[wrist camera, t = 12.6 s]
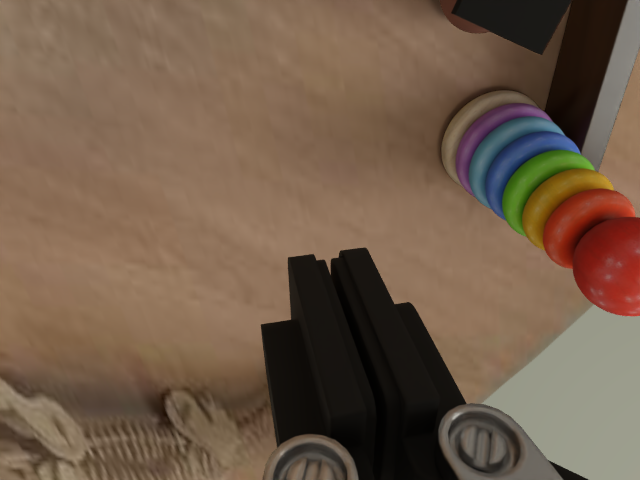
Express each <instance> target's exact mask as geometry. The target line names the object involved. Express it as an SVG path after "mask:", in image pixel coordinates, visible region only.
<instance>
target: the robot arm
mask: <svg viewBox="0 0 640 480" xmlns="http://www.w3.org/2000/svg"><path fill="white" fill-rule="evenodd" d="M288 274H289V290H290V307H291V320H287V321H281V322H274V323H267V324H261V331H262V341H263V350H264V358H265V366H266V374H267V381H268V388H269V395H270V402H271V409H272V415H273V422H274V429H275V436H276V442H277V449H276V450H274V451H273V452H272V454H271V456H270V458H269V459H268V461H267V463H266V465H265V470H264V475H263V480H588V479H586V478H584V477H582V476H580V475H578V474H576V473H573V472H571V471H569V470H567V469H565V468H563V467H561V466H559V465H557V464H555V463H553V462H551V461H549V460H547V459H546V457H545V456H544V455H543V454H542V452H541V451H540V450H539V449H538V448H537V446H536V445H535V444H534V442H533V441H532V440H531V439H530V438H529V436H528V435H527V434H526V432H525V431H524V430H523V429H522V428H521V426H520V425H518V423H516V422H515V421H514V420H513V419H512V418H511V417H510V416H509V415H507V414H505V413H504V412H502V411H500V410H499V409H496V408H493V407H490V406H487V405H484V404H473V403H470V404H466V402H465V400H464V398H463V396H462V394H461V392H460V391H459V389H458V387H457V385H456V383H455V381H454V379H453V378H452V376H451V374H450V372H449V370H448V368H447V366H446V365H445V363H444V361H443V359H442V357H441V355H440V353H439V352H438V350H437V348H436V346H435V344H434V342H433V340H432V339H431V337H430V335H429V333H428V331H427V329H426V327H425V326H424V324H423V322H422V320H421V318H420V316H419V314H418V313H417V311H416V309H415V308H414V306H413V305H412V304H411V303H410V302H407V303H400V304H394V302H393V300H392V298H391V296H390V294H389V292H388V290H387V288H386V286H385V284H384V282H383V280H382V278H381V276H380V274H379V272H378V270H377V268H376V266H375V264H374V262H373V260H372V258H371V256H370V254H369V252H368V250H367V248H357V249H350V250H342V251H340V253H339V258H333V259H331V275H330V273H329V270H328V267H327V264H326V262H325V260H318V261H316V258H315V256H314V254H311V255H304V256H296V257H288Z"/></svg>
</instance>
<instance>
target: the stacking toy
mask: <svg viewBox="0 0 640 480" xmlns="http://www.w3.org/2000/svg"><path fill="white" fill-rule="evenodd" d="M441 154H442V161H443V165H444V167H445V169H446V171H447V173H448V175H449V176H450V177H451V178H452V179H453V180H454V181H455V182H456V183H457V184H459V185H460V186H462V187H464V188H465V190H466V191H467V192H469V193H470V194H471V195H473V196H474V197H476V198H477V199H478V200H479V201H480V202H481V203H482V204H483V205H485V206H486V207H488V208H490V209H492V210H493V211H494V212H495V213H496V214H497V215H498V216H499V217H501V218H502V219H504V220H506V221H507V222H508V224H509V225H510V226H511V228H512V229H514V230H515V231H516V232H518V233H519V234H521V235H523V236H527V238H528V239H529V240H530V241H531V242H532V243H533V244H534V245H535V246H536V247H538V248H540V249H542V250H545V251H546V253H547V255H548V256H549V257H550V258H551V260H553V261H554V262H555V263H557V264H558V265H560V266H562V267H565V268H570V269H573V274H574V278H575V281H576V283H577V285H578V287H579V288H580V290H581V292H582V293H583V294H584V295H585V297H586V298H587V299H588V300H589V301H590V302H592V303H593V304H595V305H596V306H598V307H599V308H601V309H603V310H605V311H607V312H610V313H613V314H617V315H622V316H640V218H638V217H635V211H634V208H633V206H632V204H631V202H630V201H629V200H628V199H627V198H626V197H625V196H624V195H622V194H620V193H619V192H617V191H614V188H613V186H612V184H611V183H610V181H609V180H608V179H607V178H606V177H605V176H604V175H602V174H601V173H599V172H597V171H595V169H594V167H593V165H592V164H591V163H590V162H589V160H587V159H586V158H585V157H584V156H582V155H581V153H580V151H579V149H578V147H577V146H576V144H575V143H574V142H573V141H572V140H571V139H569V138H568V137H566V136H565V135H564V133H563V132H562V130H561V129H560V128H559V127H558V126H557V125H556V124H555V123H553V121H552V120H551V118H550V117H549V116H548V115H547V114H546V113H545V112H544V111H542V110H541V109H539V107H538V106H537V104H536V103H535V102H534V101H533V100H532V99H530V98H529V97H527V96H526V95H524V94H521V93H519V92H515V91H509V90H500V91H494V92H490V93H486V94H484V95H481V96H479V97H477V98H475V99H474V100H472V101H471V102H469V103H468V104H467V105H465V106H464V107H463V108H462V109H461V110H460V111H459V112H458V113H457V114H456V115H455V117H454V118H453V119H452V121H451V122H450V124H449V126H448V127H447V130H446V132H445V135H444V138H443V142H442V149H441Z"/></svg>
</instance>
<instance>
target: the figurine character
mask: <svg viewBox="0 0 640 480" xmlns="http://www.w3.org/2000/svg"><path fill="white" fill-rule="evenodd" d="M571 1H572V0H440V4H441V8H442V10H443V12H444V14H445V16H446V17H447V19H448V20H449V21H450V22H451V23H452V24H453V25H454V26H456V27H457V28H459V29H461V30H463V31H466V32H470V33H486V32H492V33H495V34H497V35H499V36H501V37H503V38H505V39H508V40H510V41H512V42H514V43H516V44H518V45H520V46H523V47H525V48H527V49H529V50H531V51H533V52H536V53H538V54H541V55H542V54H543V52H544V50H545V48H546V47H547V45H548V43H549V41H550V39H551V38H552V36H553V34H554V32H555V30H556V29H557V27H558V25H559V23H560V21H561V20H562V18H563V16H564V14H565V12H566V10H567V9H568V7H569V5H570V3H571Z"/></svg>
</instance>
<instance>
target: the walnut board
mask: <svg viewBox="0 0 640 480" xmlns="http://www.w3.org/2000/svg"><path fill="white" fill-rule="evenodd" d="M639 48H640V0H573V2H572V6H571V10H570V14H569V18H568V22H567V26H566V30H565V34H564V38H563V42H562V46H561V50H560V54H559V58H558V62H557V66H556V70H555V74H554V78H553V82H552V86H551V90H550V94H549V98H548V102H547V106H546V110H545V113H546V114H547V115H548V116H549V117H550V118H551V120H552V121H553V123H555V124H556V125H557V126H558V127H559V128H560V129H561V130H562V132H563V133H564V135H565V136H566V137H568V138H569V139H571V140H572V141H573V142H574V143H575V144H576V146H577V147H578V149H579V151H580V153H581V155H582V156H584V157H585V158H586V159H587V160H589V162H590V163H591V164H592V165H593V167H594V169H595V171H597V172H598V171H599V168H600V165H601V162H602V159H603V156H604V153H605V150H606V147H607V144H608V141H609V138H610V135H611V132H612V129H613V126H614V123H615V120H616V117H617V114H618V111H619V108H620V105H621V102H622V99H623V96H624V93H625V90H626V87H627V84H628V81H629V78H630V75H631V72H632V69H633V66H634V63H635V60H636V57H637V54H638V51H639Z"/></svg>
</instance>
